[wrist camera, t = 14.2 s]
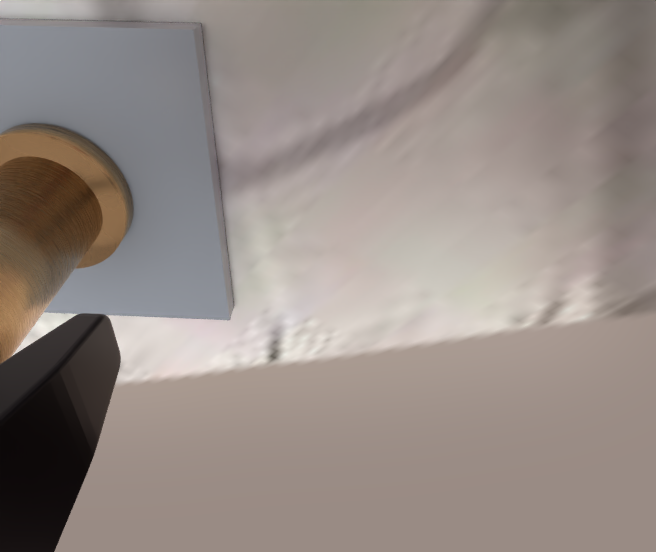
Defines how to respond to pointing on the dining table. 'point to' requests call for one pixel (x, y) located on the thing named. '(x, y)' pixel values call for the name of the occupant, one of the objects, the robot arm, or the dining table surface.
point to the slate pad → (132, 155)
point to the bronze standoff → (52, 219)
